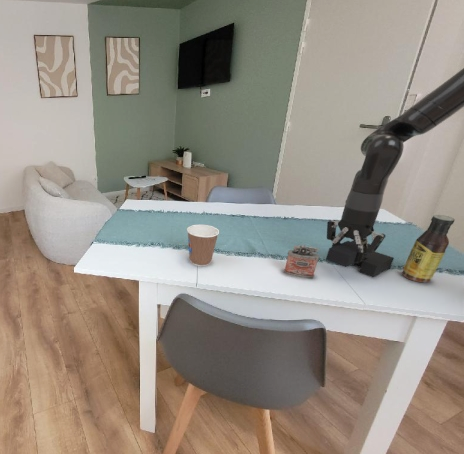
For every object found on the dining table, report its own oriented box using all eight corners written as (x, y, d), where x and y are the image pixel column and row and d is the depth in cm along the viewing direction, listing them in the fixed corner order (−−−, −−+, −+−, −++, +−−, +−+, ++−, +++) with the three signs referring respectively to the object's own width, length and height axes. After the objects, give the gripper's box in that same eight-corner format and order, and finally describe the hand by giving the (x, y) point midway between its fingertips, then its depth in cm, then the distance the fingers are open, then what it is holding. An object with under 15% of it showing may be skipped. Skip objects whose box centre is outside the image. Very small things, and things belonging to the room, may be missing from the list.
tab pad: (369, 256, 90) (373, 245, 89) (345, 267, 85) (349, 255, 84) (349, 249, 95) (352, 238, 93) (325, 259, 90) (329, 248, 88)
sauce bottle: (397, 270, 91) (421, 211, 83) (424, 274, 88) (452, 213, 80) (406, 281, 86) (432, 219, 78) (435, 286, 83) (465, 222, 75)
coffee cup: (189, 252, 109) (191, 222, 104) (218, 257, 104) (221, 227, 99) (181, 264, 101) (183, 233, 96) (212, 271, 96) (215, 238, 91)
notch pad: (389, 268, 92) (394, 257, 91) (373, 277, 88) (377, 266, 87) (346, 253, 102) (350, 243, 101) (330, 260, 98) (333, 250, 97)
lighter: (283, 274, 92) (290, 246, 88) (283, 269, 95) (289, 242, 91) (314, 279, 89) (322, 251, 85) (312, 274, 91) (320, 246, 88)
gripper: (401, 210, 78) (380, 265, 85) (341, 197, 90) (327, 246, 97) (386, 216, 75) (366, 272, 82) (327, 201, 87) (313, 251, 94)
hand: (345, 257), depth 89 cm, fingers closed on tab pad, 5 cm apart
